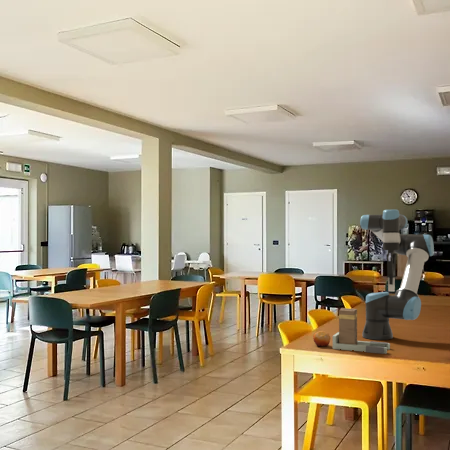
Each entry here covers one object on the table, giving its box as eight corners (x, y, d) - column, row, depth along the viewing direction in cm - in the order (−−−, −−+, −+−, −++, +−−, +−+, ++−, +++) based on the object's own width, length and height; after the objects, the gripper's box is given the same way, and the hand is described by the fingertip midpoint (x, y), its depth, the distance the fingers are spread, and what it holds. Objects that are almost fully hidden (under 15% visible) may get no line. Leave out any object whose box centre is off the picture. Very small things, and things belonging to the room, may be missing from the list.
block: (342, 345, 265) (342, 308, 265) (357, 346, 262) (357, 309, 262) (339, 348, 259) (338, 310, 259) (354, 349, 256) (354, 311, 256)
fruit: (327, 340, 271) (328, 327, 267) (330, 351, 264) (332, 339, 260) (310, 340, 271) (312, 328, 267) (313, 351, 264) (315, 339, 260)
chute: (338, 344, 269) (338, 331, 269) (390, 348, 259) (390, 335, 259) (332, 349, 257) (332, 336, 258) (386, 354, 247) (386, 340, 247)
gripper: (385, 241, 271) (385, 289, 271) (380, 242, 259) (381, 292, 259) (401, 241, 268) (401, 290, 267) (397, 242, 256) (397, 293, 256)
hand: (391, 291), depth 263 cm, fingers closed
